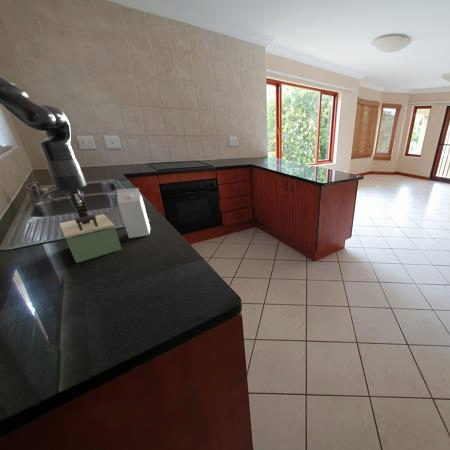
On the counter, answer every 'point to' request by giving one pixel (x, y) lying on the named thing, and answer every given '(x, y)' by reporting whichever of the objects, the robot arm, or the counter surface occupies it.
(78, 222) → the bin lid
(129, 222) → the milk carton
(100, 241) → the bin
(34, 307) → the counter surface
